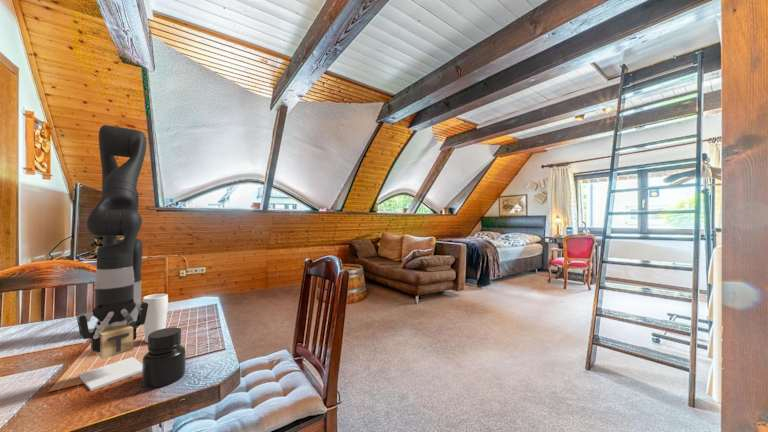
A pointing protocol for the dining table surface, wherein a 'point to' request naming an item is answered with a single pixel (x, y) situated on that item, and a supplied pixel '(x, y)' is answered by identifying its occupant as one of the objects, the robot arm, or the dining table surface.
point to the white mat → (111, 373)
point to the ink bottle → (163, 358)
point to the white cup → (155, 313)
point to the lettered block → (115, 340)
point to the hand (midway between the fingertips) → (114, 346)
